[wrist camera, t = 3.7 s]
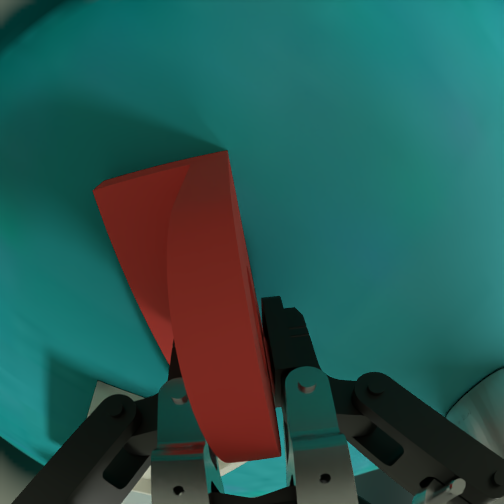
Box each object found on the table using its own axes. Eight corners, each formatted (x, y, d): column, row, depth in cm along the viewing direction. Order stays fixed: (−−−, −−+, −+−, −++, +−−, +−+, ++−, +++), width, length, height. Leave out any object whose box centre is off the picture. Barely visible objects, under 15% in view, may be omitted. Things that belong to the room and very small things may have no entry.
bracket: (104, 180, 10) (-38, 338, 3) (227, 150, 10) (240, 308, 3) (192, 387, 16) (190, 519, 9) (272, 376, 16) (295, 511, 9)
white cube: (121, 476, 25) (118, 519, 20) (152, 490, 28) (150, 528, 23) (88, 474, 25) (82, 513, 20) (118, 489, 28) (115, 524, 23)
